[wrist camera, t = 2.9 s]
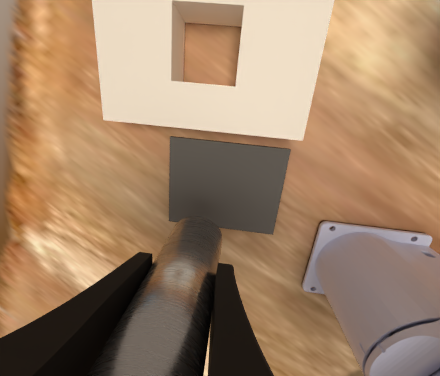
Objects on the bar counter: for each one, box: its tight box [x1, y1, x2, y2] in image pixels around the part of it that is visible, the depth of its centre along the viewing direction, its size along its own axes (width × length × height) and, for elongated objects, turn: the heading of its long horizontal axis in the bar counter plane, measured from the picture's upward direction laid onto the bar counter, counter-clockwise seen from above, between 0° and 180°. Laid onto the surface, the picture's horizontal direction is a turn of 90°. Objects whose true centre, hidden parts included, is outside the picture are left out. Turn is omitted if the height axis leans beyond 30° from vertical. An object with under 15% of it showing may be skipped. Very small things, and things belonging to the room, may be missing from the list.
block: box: [92, 0, 334, 141], centre depth 14 cm, size 14×10×3 cm
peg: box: [87, 216, 222, 376], centre depth 8 cm, size 3×3×9 cm
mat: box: [169, 136, 290, 235], centre depth 18 cm, size 10×8×1 cm
